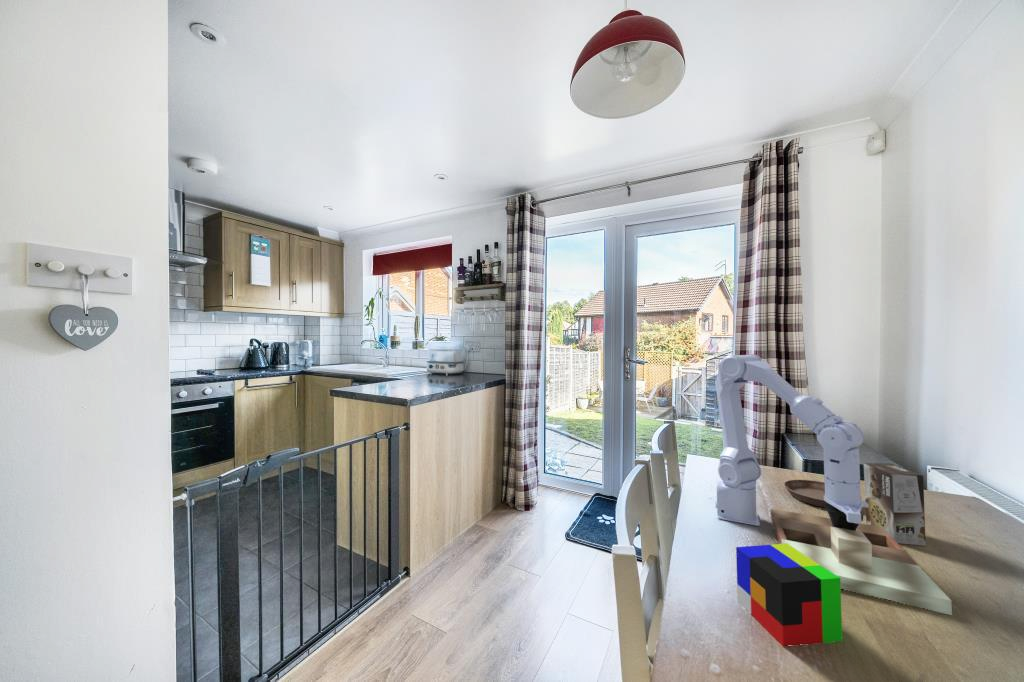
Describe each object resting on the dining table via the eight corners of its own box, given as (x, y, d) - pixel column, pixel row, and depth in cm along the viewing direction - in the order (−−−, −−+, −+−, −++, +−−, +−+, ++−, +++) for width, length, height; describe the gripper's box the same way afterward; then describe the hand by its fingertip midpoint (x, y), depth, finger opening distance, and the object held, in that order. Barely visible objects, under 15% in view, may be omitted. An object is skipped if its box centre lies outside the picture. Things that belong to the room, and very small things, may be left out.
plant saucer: (783, 484, 120) (783, 474, 120) (855, 496, 110) (855, 486, 110) (785, 503, 106) (784, 493, 106) (868, 519, 96) (868, 507, 96)
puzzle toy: (737, 602, 66) (736, 547, 66) (788, 597, 67) (786, 543, 67) (783, 647, 56) (781, 582, 56) (842, 641, 57) (840, 578, 57)
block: (838, 562, 73) (838, 537, 73) (831, 550, 77) (830, 526, 77) (872, 569, 70) (871, 543, 71) (862, 556, 75) (861, 531, 75)
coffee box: (927, 546, 82) (925, 475, 83) (894, 543, 84) (892, 474, 84) (894, 526, 91) (892, 462, 91) (864, 524, 93) (862, 461, 93)
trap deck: (791, 577, 72) (791, 565, 72) (770, 518, 97) (770, 508, 97) (951, 615, 62) (951, 600, 62) (882, 537, 86) (882, 527, 86)
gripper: (881, 494, 69) (883, 565, 69) (854, 471, 82) (856, 531, 82) (833, 488, 73) (835, 556, 73) (814, 466, 85) (816, 524, 85)
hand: (843, 542), depth 77 cm, fingers closed
